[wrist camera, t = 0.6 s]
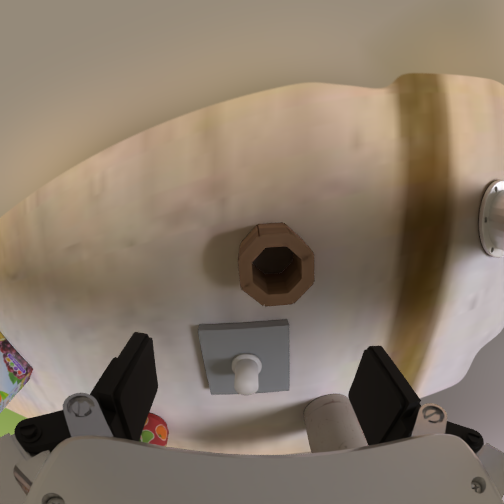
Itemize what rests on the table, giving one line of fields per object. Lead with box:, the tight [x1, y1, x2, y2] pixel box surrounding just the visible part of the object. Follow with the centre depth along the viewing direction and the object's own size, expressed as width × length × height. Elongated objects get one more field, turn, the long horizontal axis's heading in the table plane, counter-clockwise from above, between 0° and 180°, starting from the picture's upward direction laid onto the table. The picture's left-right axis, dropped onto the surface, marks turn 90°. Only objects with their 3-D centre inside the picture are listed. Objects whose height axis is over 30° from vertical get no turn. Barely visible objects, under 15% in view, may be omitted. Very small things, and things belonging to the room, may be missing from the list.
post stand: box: [198, 319, 289, 395], centre depth 32 cm, size 11×11×6 cm
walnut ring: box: [238, 223, 314, 306], centre depth 28 cm, size 7×7×6 cm
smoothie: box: [139, 413, 169, 446], centre depth 29 cm, size 8×8×20 cm
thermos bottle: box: [304, 394, 368, 453], centre depth 24 cm, size 8×8×28 cm
